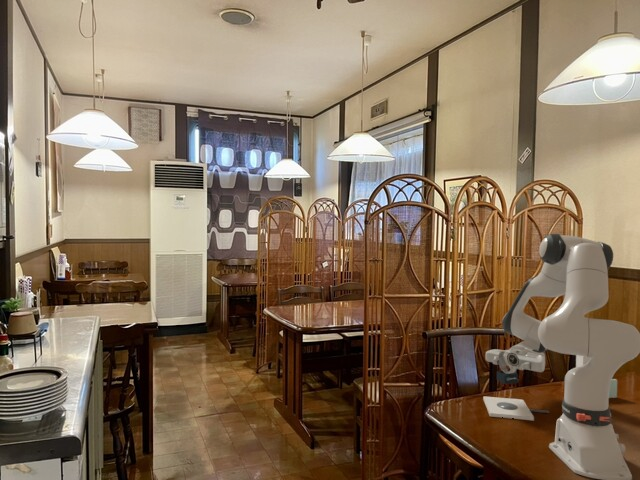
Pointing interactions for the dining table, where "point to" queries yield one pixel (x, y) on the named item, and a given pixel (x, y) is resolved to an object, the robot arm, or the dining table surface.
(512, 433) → the dining table surface
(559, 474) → the dining table surface
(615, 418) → the dining table surface
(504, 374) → the watch
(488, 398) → the charging pad
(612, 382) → the right angle wall
